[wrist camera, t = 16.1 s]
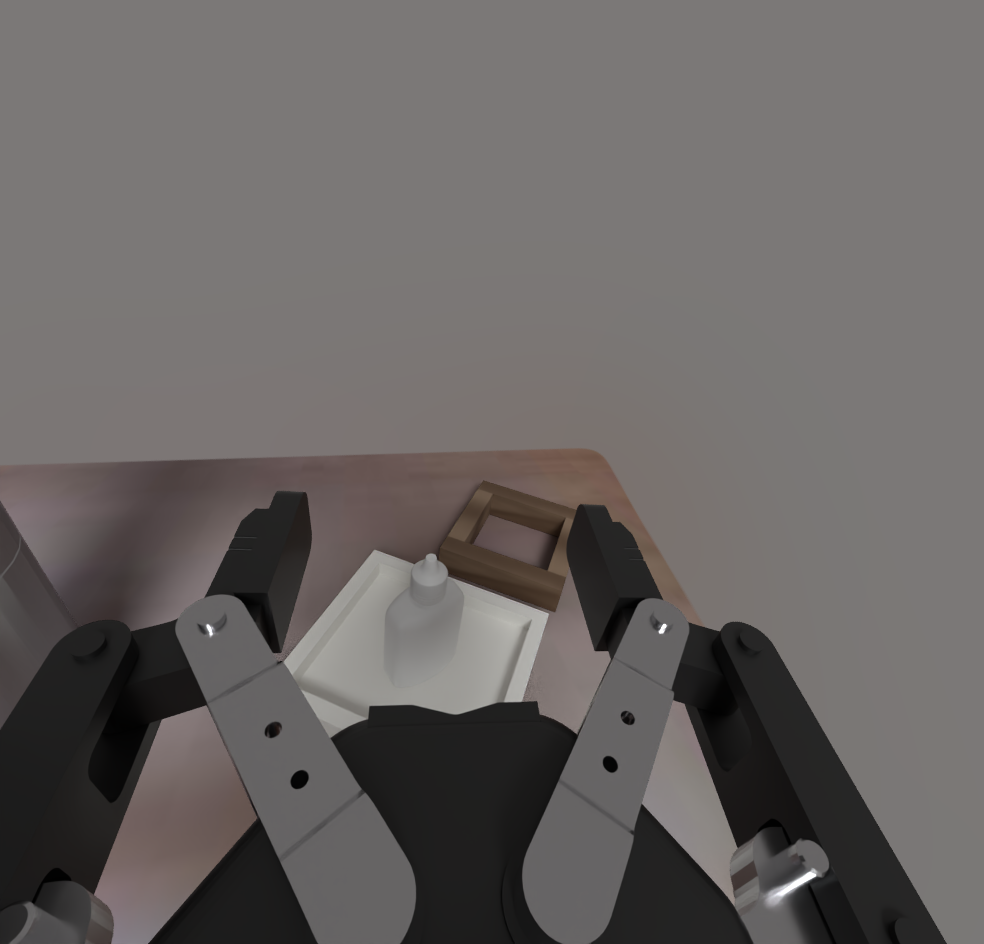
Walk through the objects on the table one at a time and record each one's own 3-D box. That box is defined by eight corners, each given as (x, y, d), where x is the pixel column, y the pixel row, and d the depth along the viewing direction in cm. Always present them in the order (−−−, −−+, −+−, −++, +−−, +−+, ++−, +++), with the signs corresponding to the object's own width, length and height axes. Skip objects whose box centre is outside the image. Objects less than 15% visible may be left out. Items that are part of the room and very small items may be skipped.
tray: (486, 813, 31) (491, 797, 29) (265, 710, 34) (259, 691, 32) (543, 631, 42) (549, 613, 41) (375, 567, 46) (374, 549, 44)
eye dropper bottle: (384, 639, 38) (387, 533, 31) (453, 635, 40) (470, 533, 32) (382, 691, 35) (385, 586, 28) (458, 686, 36) (479, 583, 29)
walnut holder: (555, 612, 44) (561, 591, 42) (437, 569, 47) (439, 547, 45) (578, 532, 54) (585, 512, 52) (480, 500, 56) (483, 480, 54)
